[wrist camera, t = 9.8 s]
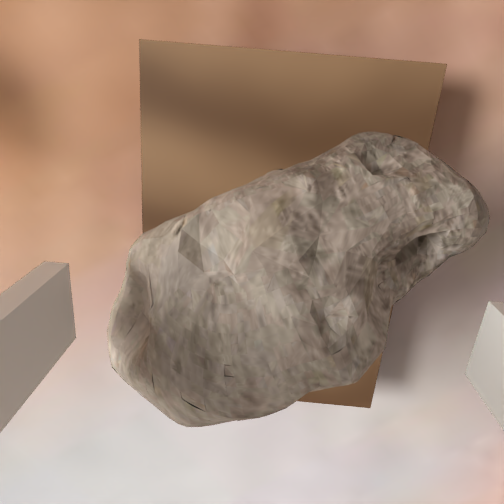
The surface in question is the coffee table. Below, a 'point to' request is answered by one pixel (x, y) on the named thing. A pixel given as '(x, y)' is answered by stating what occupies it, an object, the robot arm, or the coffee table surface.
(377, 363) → the stand
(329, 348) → the stone
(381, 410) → the coffee table surface
